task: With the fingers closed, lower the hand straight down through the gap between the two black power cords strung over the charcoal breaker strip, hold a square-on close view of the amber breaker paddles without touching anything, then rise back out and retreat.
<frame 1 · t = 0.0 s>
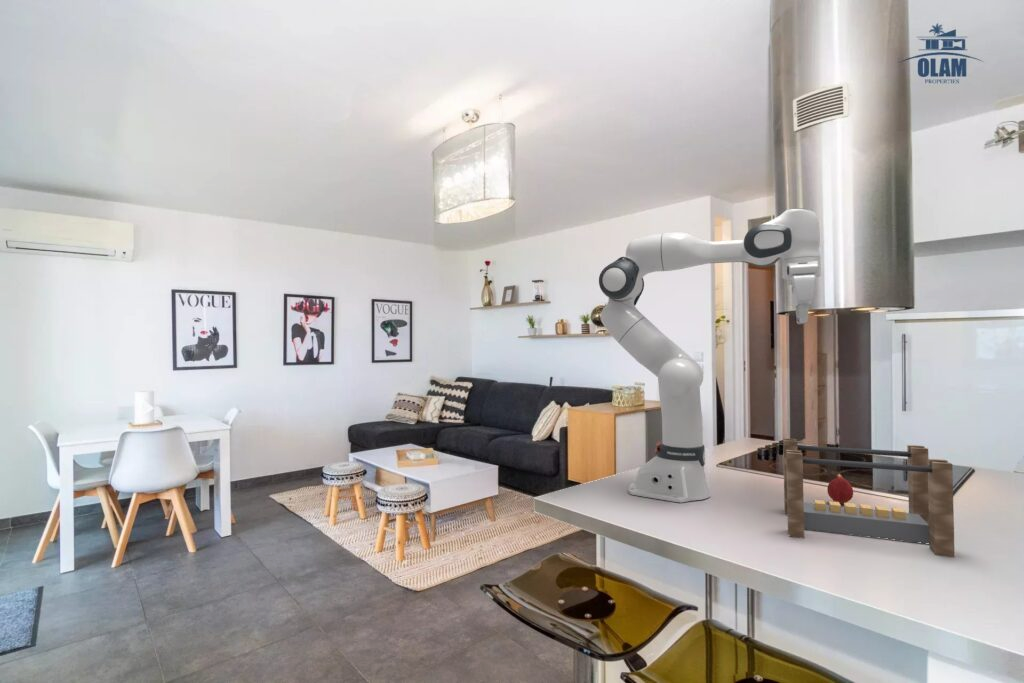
hand: (802, 323, 136), 48 cm above the counter, tool pointing down, fingers open, 8 cm apart
cord posts: (858, 530, 118), on the counter
breaker strip: (858, 530, 118), on the counter
onion: (840, 505, 136), on the counter
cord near: (863, 467, 111), point 16 cm above the counter, touching cord posts
cord far: (851, 453, 125), point 16 cm above the counter, touching cord posts
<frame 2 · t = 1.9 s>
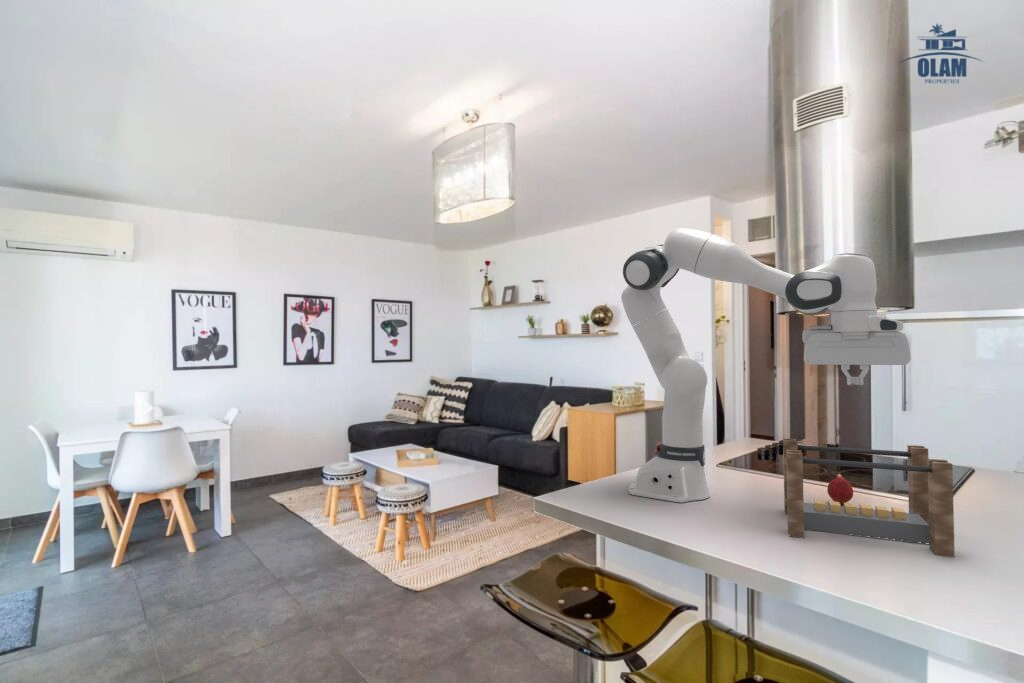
hand: (855, 385, 118), 33 cm above the counter, tool pointing down, fingers closed
nothing on the counter moved.
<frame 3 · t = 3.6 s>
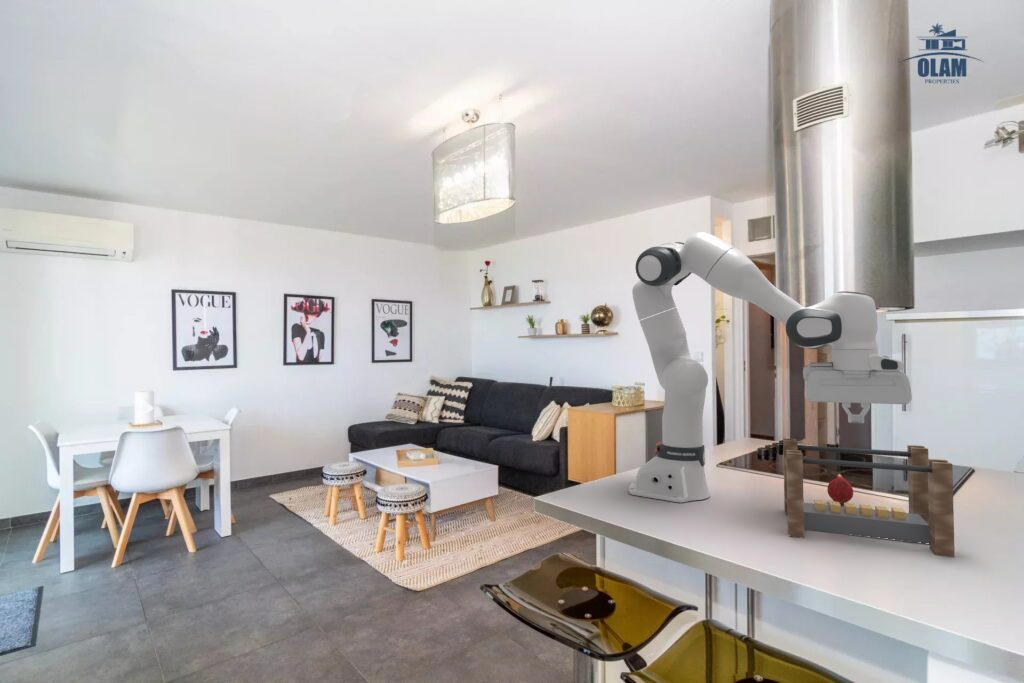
hand: (856, 422, 118), 24 cm above the counter, tool pointing down, fingers closed
nothing on the counter moved.
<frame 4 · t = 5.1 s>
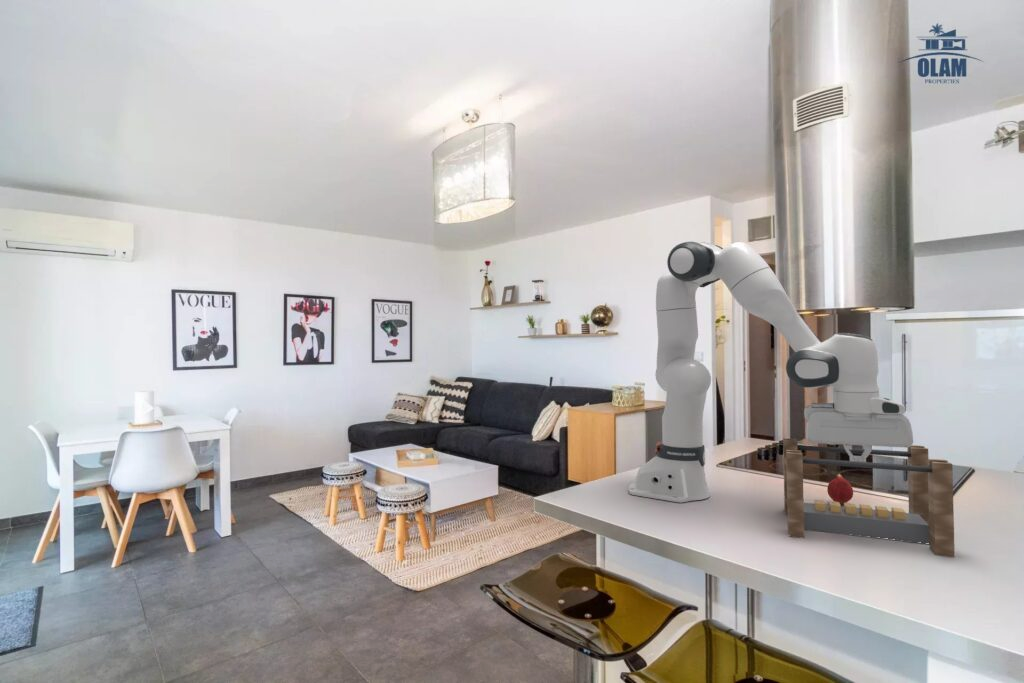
hand: (857, 464, 118), 15 cm above the counter, tool pointing down, fingers closed
nothing on the counter moved.
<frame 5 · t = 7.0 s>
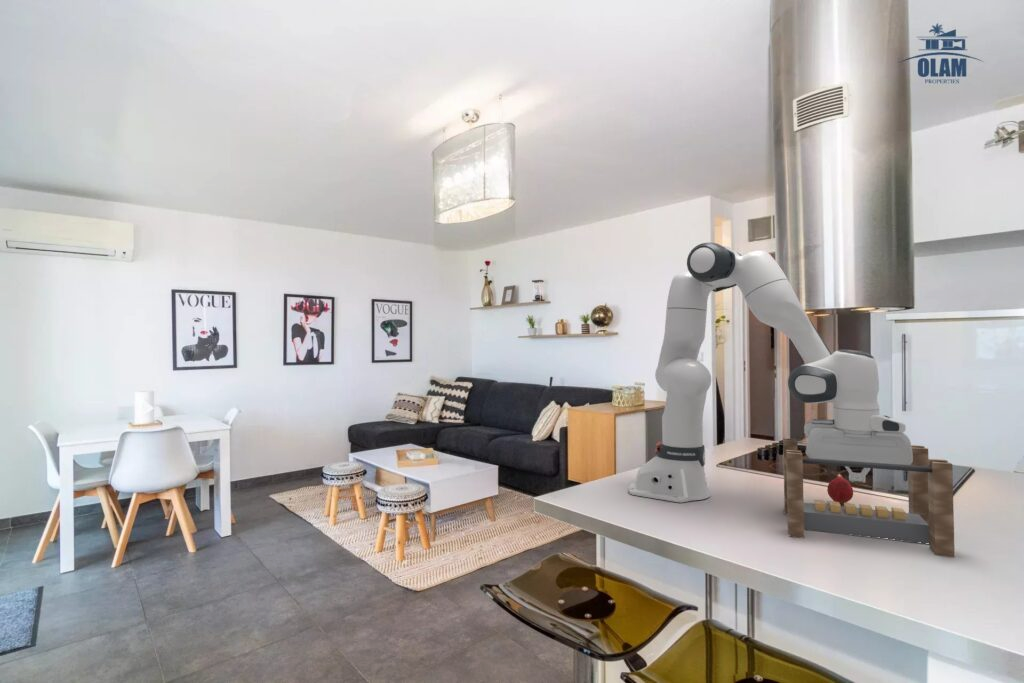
hand: (857, 481, 118), 11 cm above the counter, tool pointing down, fingers closed
nothing on the counter moved.
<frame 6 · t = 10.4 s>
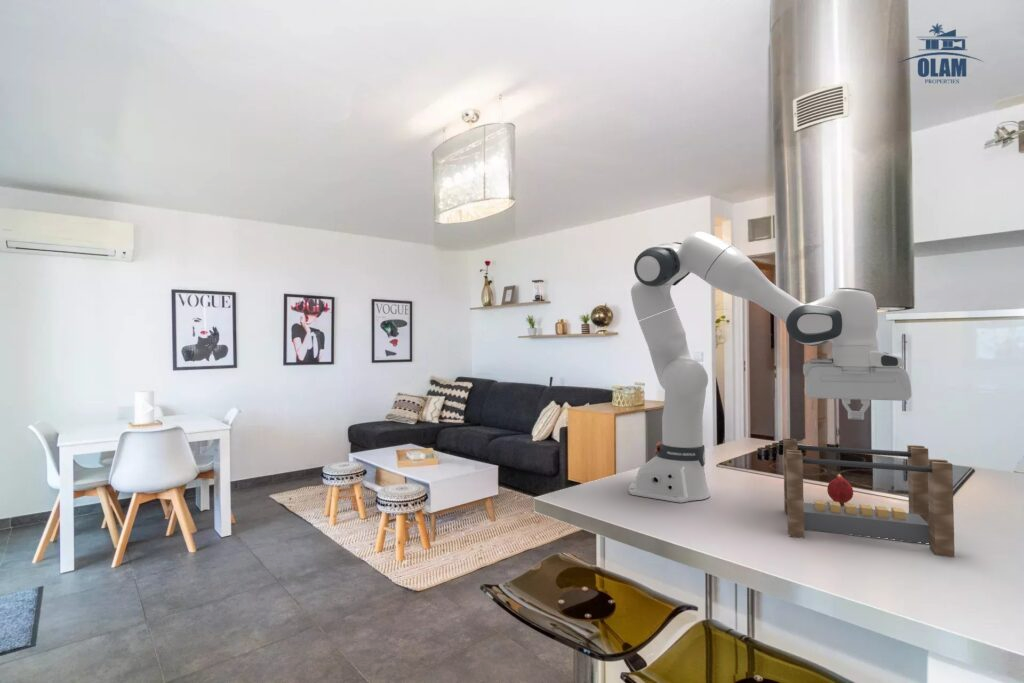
hand: (855, 419, 118), 25 cm above the counter, tool pointing down, fingers closed
nothing on the counter moved.
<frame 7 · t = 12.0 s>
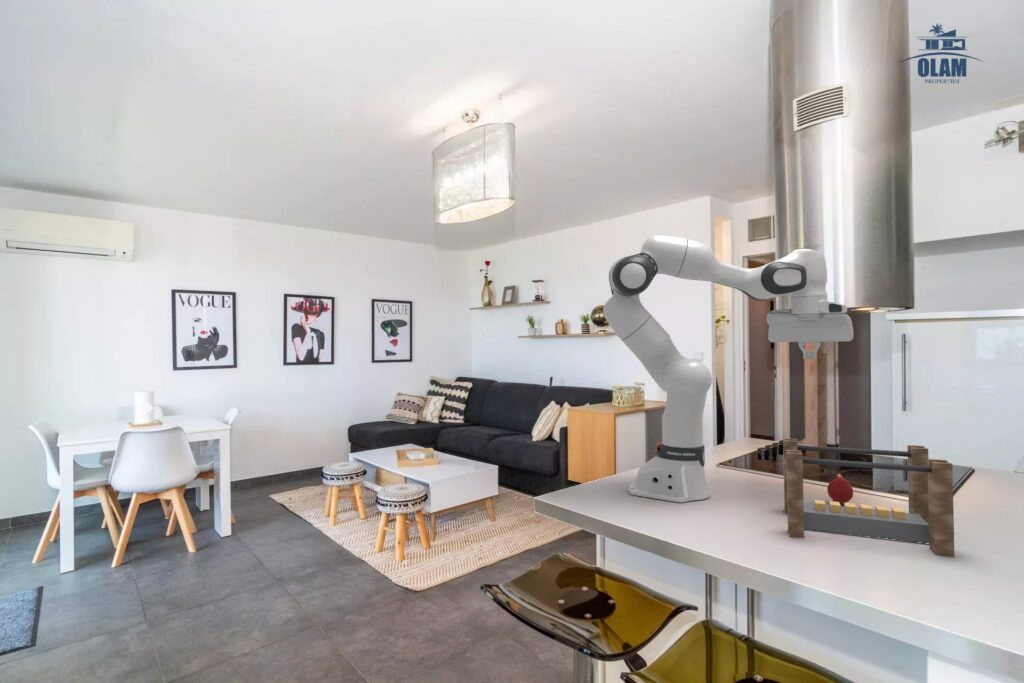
hand: (809, 358, 141), 38 cm above the counter, tool pointing down, fingers closed
nothing on the counter moved.
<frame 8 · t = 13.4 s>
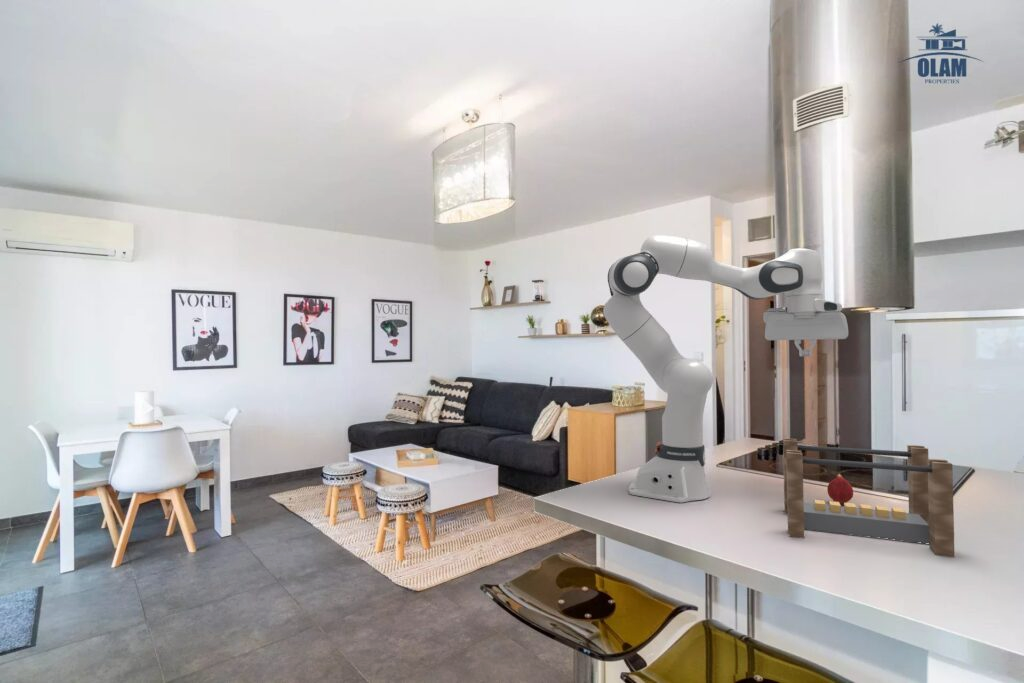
hand: (805, 356, 144), 39 cm above the counter, tool pointing down, fingers closed
nothing on the counter moved.
at the end: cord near moved 0.1 cm from its start; cord far moved 0.1 cm from its start; onion moved 0.2 cm from its start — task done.
